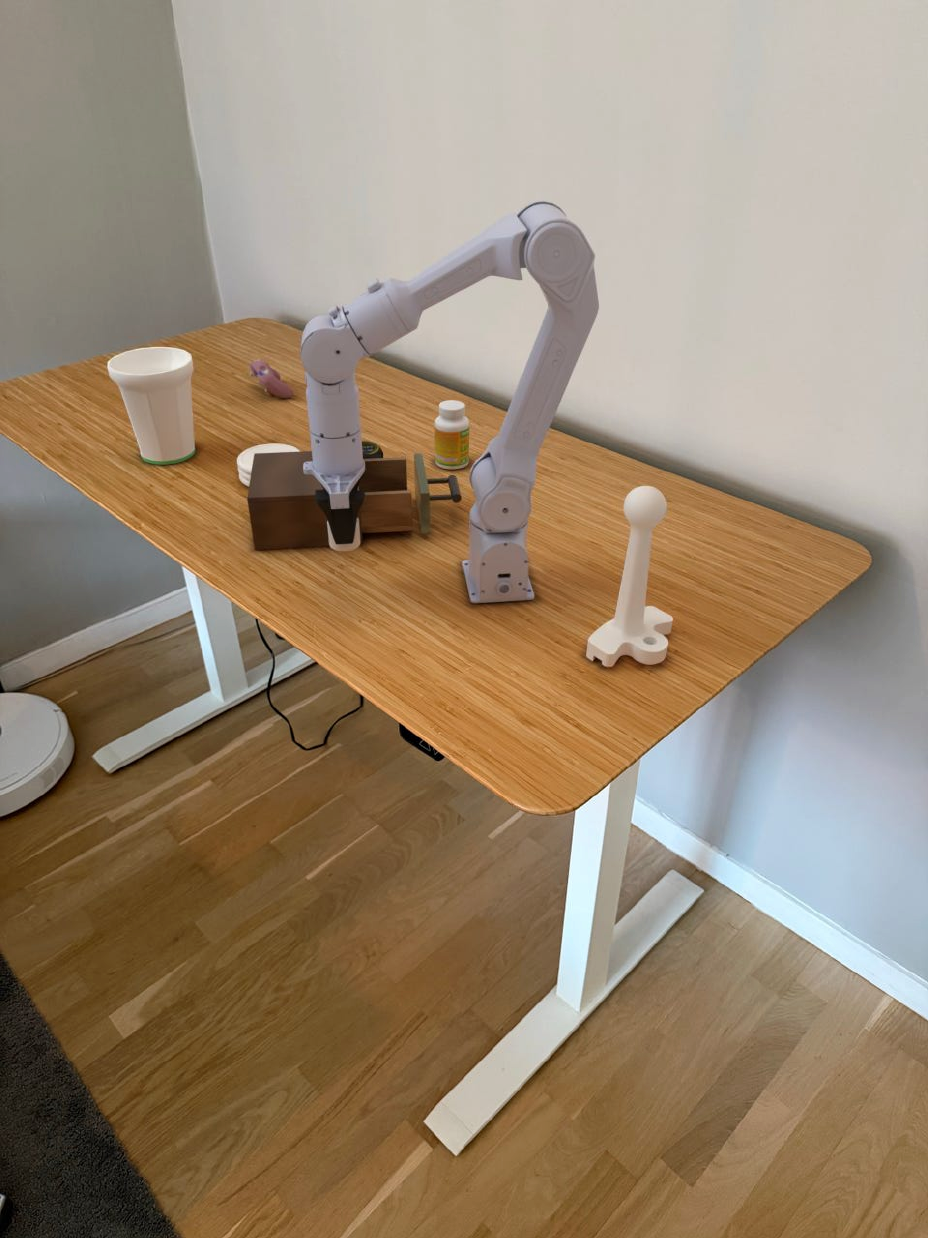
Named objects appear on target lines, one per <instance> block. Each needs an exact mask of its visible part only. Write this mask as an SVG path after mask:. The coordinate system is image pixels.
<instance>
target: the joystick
mask: <svg viewBox="0 0 928 1238" xmlns="http://www.w3.org/2000/svg"><path fill="white" fill-rule="evenodd" d="M667 504H668V503H667V499H666V497H665V495H664V494H663V493H662V492H661V490H660V489H658V488H656V487H654V486H651V485H640V486H637V487H635V488H633V489H632V490H631V491H630V492H628V494H627V495H626V497H625V499H624V502H623V514H624V517H625V518H626V520H627V521H628V522H629V525H630V533H629V539H628V544H627V549H626V554H625V555H626V556H625V559H624V565H623V571H622V576H621V580H620V586H619V592H618V597H617V602H616V608H615V613H614V617H613V618H611V619H609V620H607V621H606V622H605V623H603V624H602V625H600V627H598V628H597V629H596V630H595V631H593V633H592V634H591V635H590V636H589V637H588V638H587V645H586V653H585V655H586V659H588V660H590V661H591V662H594V660H595V659H596V658H597V659H598V660H600V661H601V665H602V666H604V667H607V668H610V667H614V665H615V664H616V662H617V660H619V658H621V656H629V657H632V658H633V659H634V661H637V662H638V663H640V664H642V665H649V666H651V665H652V666H653V665H657V664H660V663H663V661H664V660H665V659H666V657H667V653H668V647H669V646H668V645H669V640H668V638H667V637H666V636H665V635H669V634H671V633H672V627H673V623H674V618H673V617H672V616H671V615H669V613H666V612H664V611H663V610H661V609H659V608H657V607H656V606H653V605H647V606H646V599H647V588H648V580H649V579H648V578H649V568H650V560H651V559H650V558H651V549H652V540H653V539H652V537H653V530H654V528H655V527H656V526H657V525H659V524H660V523H661V522H662V521H663V520H664V518H665V516H666V514H667V511H668V510H667V509H668V505H667Z"/></svg>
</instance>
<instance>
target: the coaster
mask: <svg viewBox="0 0 928 1238" xmlns="http://www.w3.org/2000/svg"><path fill="white" fill-rule="evenodd" d="M300 451H301V450H300V449H299V448H297V447H295V446H294V445H291V444H286V443H274V442H273V443H261V444H258V445H254V446H251V447H248V448H246V449H244V450H243V451H242V452H241V453H240V454H238V456H237V458H236V465H237V472H238V478H239V481H240V482H241V483H242V484H243V486H244V485H245V486H246V487H247V488H249V484H250V478H251V471H252V465H253V459H254V454H255V453H277V452H300Z"/></svg>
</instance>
